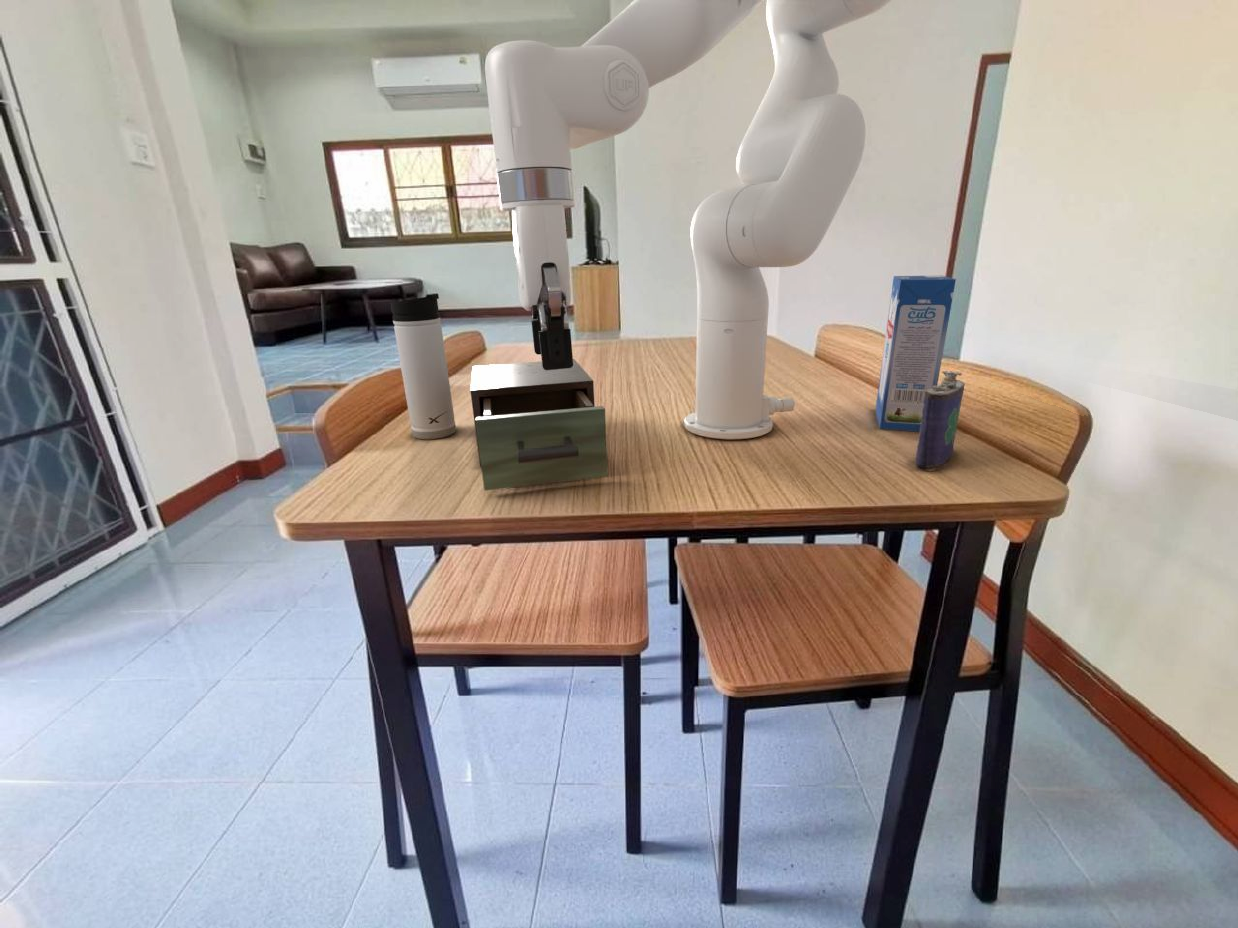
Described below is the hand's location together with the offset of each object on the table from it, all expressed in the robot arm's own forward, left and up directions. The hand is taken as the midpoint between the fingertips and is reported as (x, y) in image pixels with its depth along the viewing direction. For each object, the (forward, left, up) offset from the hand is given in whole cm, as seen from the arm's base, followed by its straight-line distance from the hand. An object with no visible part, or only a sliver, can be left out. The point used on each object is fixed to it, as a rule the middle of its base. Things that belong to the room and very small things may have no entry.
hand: (552, 360), depth 63 cm
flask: (-44, +10, -14) cm, 47 cm away
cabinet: (+2, -12, -13) cm, 18 cm away
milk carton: (-51, -5, -14) cm, 53 cm away
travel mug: (+16, -21, -14) cm, 29 cm away
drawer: (+2, +1, -12) cm, 13 cm away
